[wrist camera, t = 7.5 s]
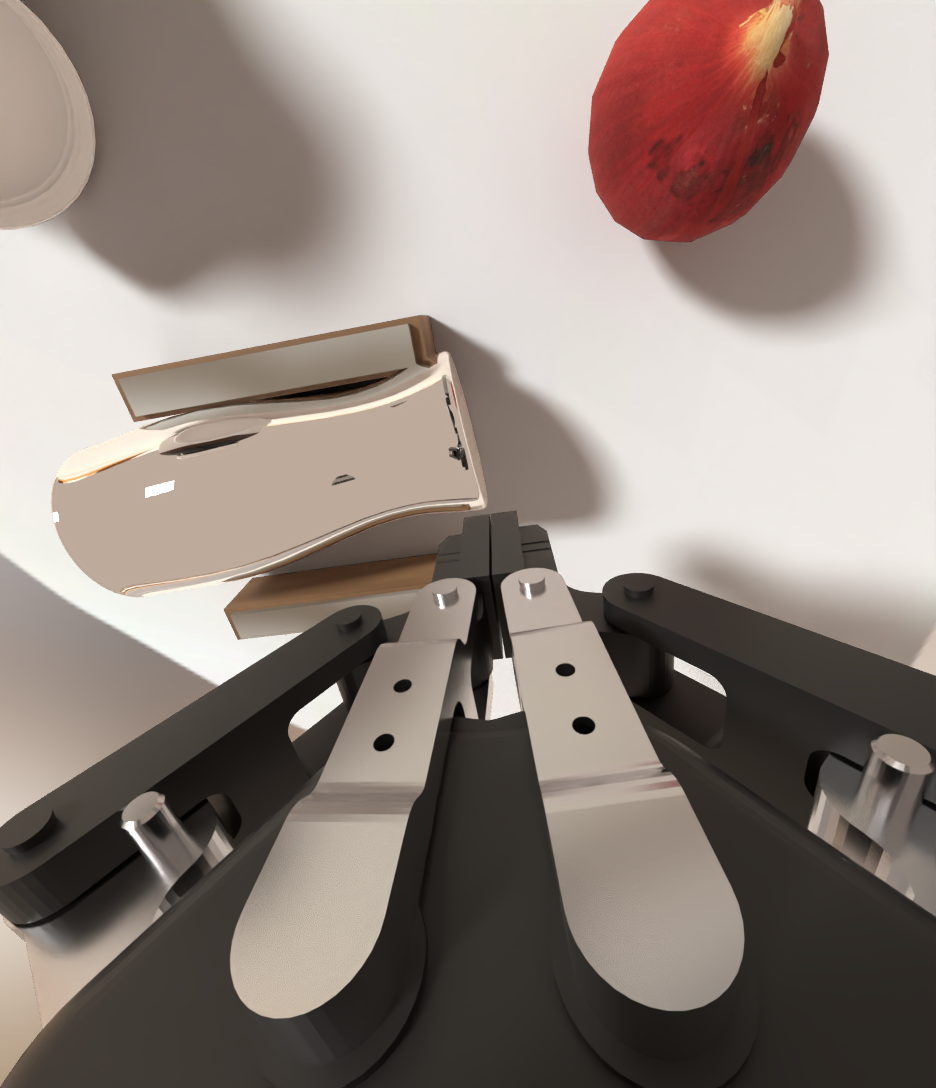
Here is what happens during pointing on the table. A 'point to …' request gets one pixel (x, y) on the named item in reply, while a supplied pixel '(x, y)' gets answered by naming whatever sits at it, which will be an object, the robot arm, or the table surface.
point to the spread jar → (39, 122)
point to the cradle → (283, 372)
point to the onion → (703, 110)
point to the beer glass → (266, 481)
